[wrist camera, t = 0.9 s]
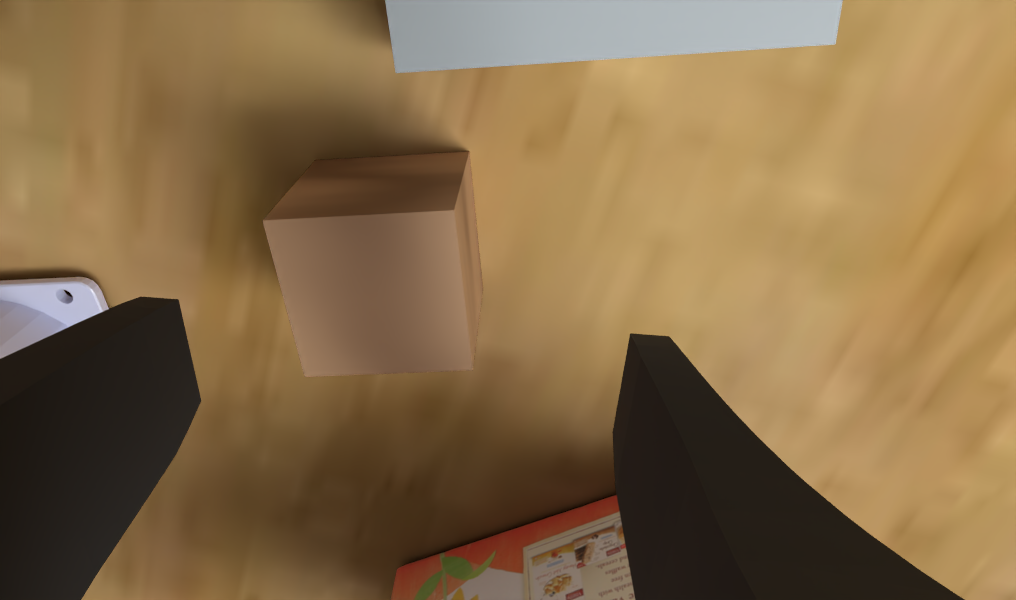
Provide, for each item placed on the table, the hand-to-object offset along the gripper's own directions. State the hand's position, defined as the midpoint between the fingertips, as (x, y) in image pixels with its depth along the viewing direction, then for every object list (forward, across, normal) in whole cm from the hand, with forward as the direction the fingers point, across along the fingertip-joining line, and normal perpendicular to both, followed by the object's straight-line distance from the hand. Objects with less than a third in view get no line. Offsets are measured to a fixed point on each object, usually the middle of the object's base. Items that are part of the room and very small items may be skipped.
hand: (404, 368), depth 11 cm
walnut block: (+10, +2, +2) cm, 10 cm away
